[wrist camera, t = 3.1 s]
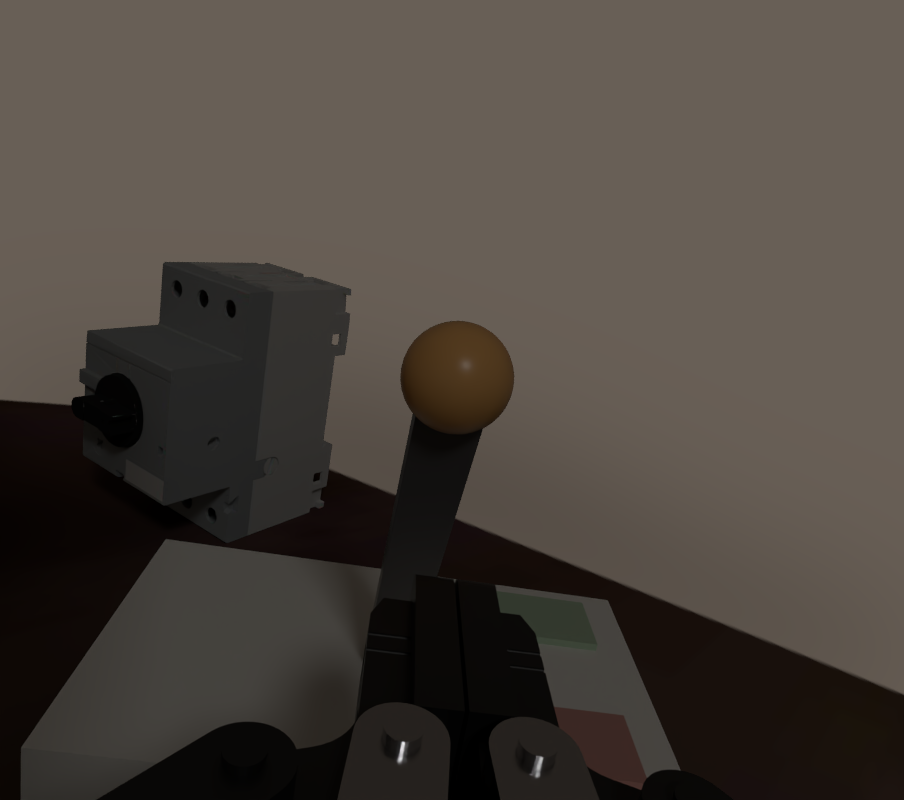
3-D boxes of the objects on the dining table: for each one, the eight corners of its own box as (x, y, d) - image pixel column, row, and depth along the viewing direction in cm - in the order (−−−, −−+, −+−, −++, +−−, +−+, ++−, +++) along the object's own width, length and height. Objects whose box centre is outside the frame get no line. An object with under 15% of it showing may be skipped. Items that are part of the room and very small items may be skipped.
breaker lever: (347, 680, 25) (403, 365, 15) (357, 612, 27) (413, 289, 17) (420, 689, 26) (528, 386, 15) (425, 621, 28) (525, 308, 17)
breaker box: (20, 893, 22) (21, 738, 20) (158, 645, 33) (166, 533, 32) (656, 953, 24) (706, 815, 22) (580, 698, 35) (609, 594, 33)
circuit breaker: (52, 522, 41) (57, 261, 37) (249, 467, 53) (271, 263, 49) (128, 579, 38) (144, 295, 33) (323, 506, 49) (354, 288, 45)
